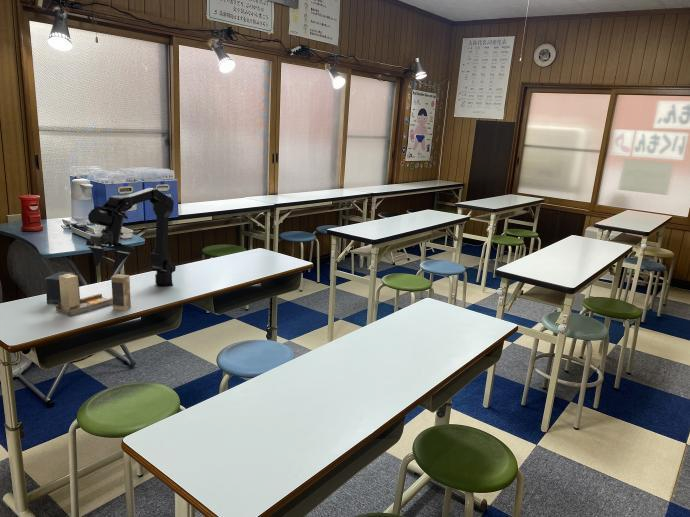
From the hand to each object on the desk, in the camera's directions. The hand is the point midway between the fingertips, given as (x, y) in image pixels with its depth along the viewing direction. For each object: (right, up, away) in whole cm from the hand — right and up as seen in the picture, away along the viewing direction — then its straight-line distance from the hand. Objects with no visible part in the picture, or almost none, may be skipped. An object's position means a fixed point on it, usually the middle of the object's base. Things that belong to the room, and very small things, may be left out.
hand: (105, 267), depth 195 cm
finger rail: (-8, -15, 0) cm, 17 cm away
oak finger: (+6, -16, +1) cm, 17 cm away
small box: (-20, -13, +6) cm, 25 cm away
